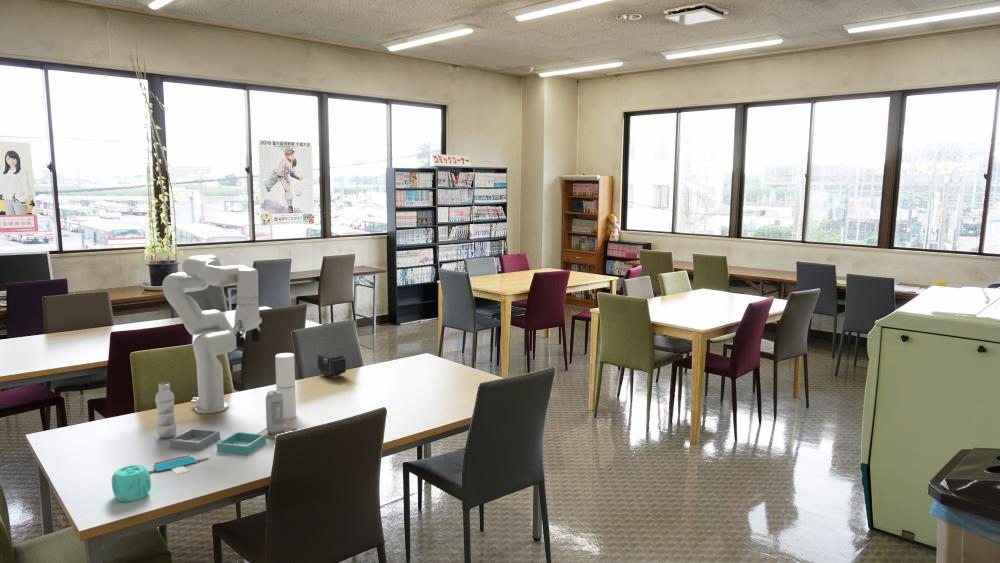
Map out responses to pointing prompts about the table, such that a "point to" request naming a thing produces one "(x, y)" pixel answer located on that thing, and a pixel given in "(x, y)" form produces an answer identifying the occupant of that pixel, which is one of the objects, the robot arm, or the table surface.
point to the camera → (331, 364)
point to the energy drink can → (274, 412)
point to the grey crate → (182, 442)
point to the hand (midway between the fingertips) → (248, 344)
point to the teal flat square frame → (229, 447)
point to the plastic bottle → (165, 411)
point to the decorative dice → (131, 483)
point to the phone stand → (175, 464)
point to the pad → (272, 436)
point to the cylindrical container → (286, 382)
